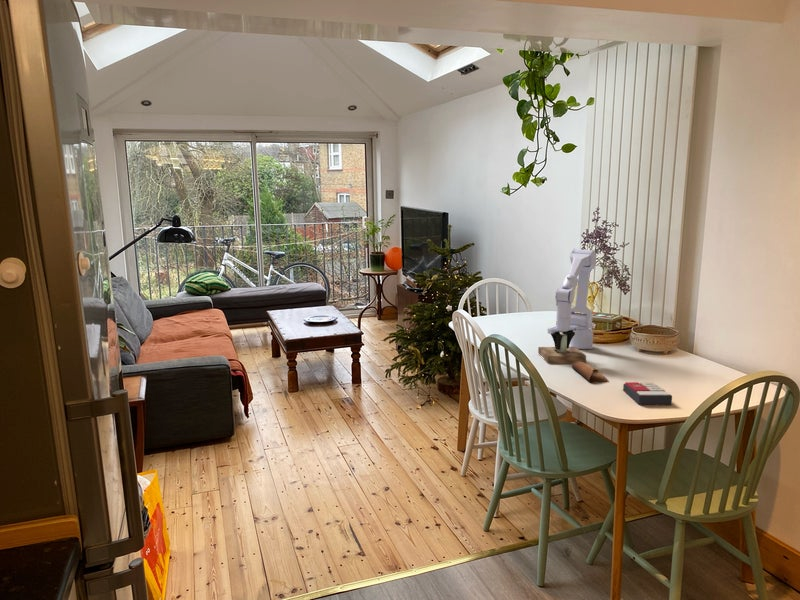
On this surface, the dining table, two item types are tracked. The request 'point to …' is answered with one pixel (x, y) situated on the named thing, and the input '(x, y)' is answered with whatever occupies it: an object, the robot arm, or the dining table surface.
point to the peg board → (561, 355)
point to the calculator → (647, 394)
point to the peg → (563, 345)
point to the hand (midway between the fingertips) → (561, 348)
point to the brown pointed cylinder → (589, 372)
